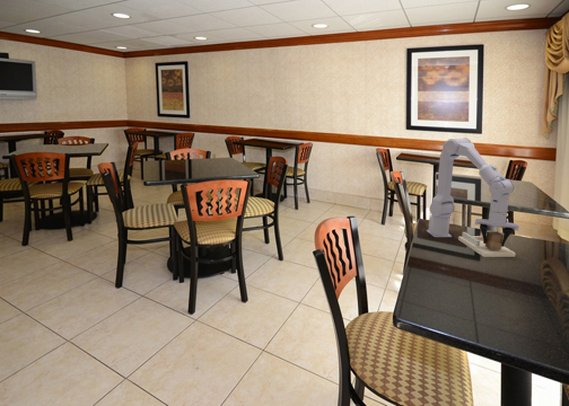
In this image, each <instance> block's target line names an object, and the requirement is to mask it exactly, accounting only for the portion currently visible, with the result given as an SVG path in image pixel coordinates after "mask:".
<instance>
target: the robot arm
mask: <svg viewBox="0 0 569 406" xmlns="http://www.w3.org/2000/svg"><path fill="white" fill-rule="evenodd" d="M460 156H462V157H466V158H467V159H468V160H469V161H470V162H471V163H472V165H474V166H475V167H476V168H477V169H478V170H479V171H478V174H479V176H480V177H481V178H482V180H483V181H484V182H485V183H486V184H487V186H488V190H489V193H490V198H491V199H490V205H489V206H490V207H489V214H488V219H486V218H475V220H474V221H475V222H474V225H477V226H478V225H479V229H480V233H481V232H482V235H483V243H484V244H485V243H486V234H487V232H488V227H493V228H502V229H504V230H503V231H504V232H503V241H502V247H505V243H506V242H507V239H508V238H509V237H510V235H511V234H512V233H513V230H515V231H519V228H520V224H519V223H513V222H509V221H507V216H508V215H507V214H508V207H509V202H510V194H511V193H513V192H514V190H515V184H514V183H513V181H512V180H510V179H508V178H506V177H505V176H504V175H502V174H501V172H499V171H498V168H497V166H496V165H493V164H488V163H487V162H486V161H485V159H484V157H482V155H481V154H480V153H479V151H478V150H477V149H476V148H475V144H474V143H473V142H472V141H471V140H470V139H469V138H467V137H465V138H449V139H448V140H446V141H445V142H444V143H442V150H441V153H440V156H439V163H438V165H439V166H438V175H437V177H438V179H437V190H436V191H437V192H436V195H435V196H434V197H433V198H432V199H431V204H430V205H429V212H430V214H431V215H430V217H429V219H428V229H426V232H427V233H429V234H430V235H431V236H432V237H434V238H452V237H453V236H452V235H451V234H450V233H449V230H450V219H451V216H452V214H453V213H454V212H455V209H456V206H455V204H454V203H455V202H454V201H455V199H454V198H453V196H452V195H451V193H452V184H453V183H452V182H453V169H454V160H456V159H457V158H459V157H460Z"/></svg>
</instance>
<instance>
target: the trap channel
mask: <svg viewBox="0 0 569 406" xmlns="http://www.w3.org/2000/svg"><path fill="white" fill-rule="evenodd" d="M486 236H487V234H486ZM457 239H458V241H460V242H461V243H463V244H464V245H466V246H467V247H468V248H470V249H472V250H473V251H474V252H475V253H477V254H479V255H480V256H482V257H483V258H516V252H514V251H513V250H511V249H509V248H507V247H506V246H504V247H502V248H501V250H490V249H489V248H487V247H486V246H485V244H486V243H485V244H484V243H483V235H482V232H481V231H480V235H476V236H475V235H473V236H472V235H471V234H469V233H467V232H466V231H462V235H461V236H458V238H457Z"/></svg>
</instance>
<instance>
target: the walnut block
mask: <svg viewBox="0 0 569 406" xmlns="http://www.w3.org/2000/svg"><path fill="white" fill-rule="evenodd" d="M503 237H504V234H503V233H500V232H498V231H487V236H486V244H485V246H486V247H487V248H489V249H490V250H501V248H502V241H503Z"/></svg>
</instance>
